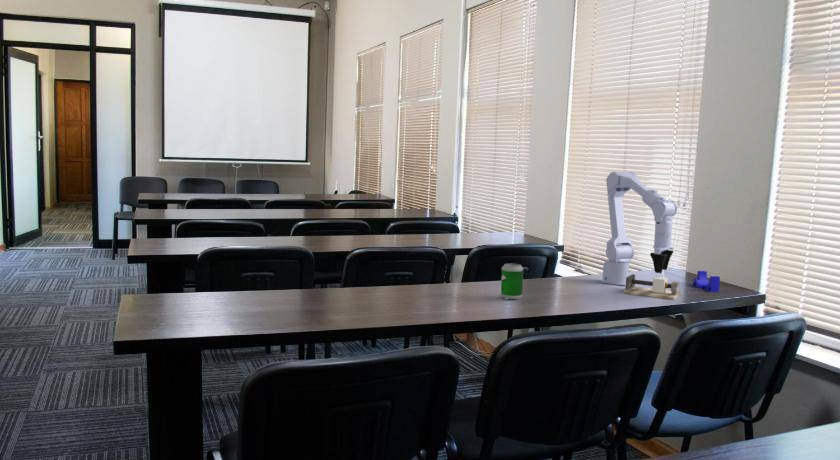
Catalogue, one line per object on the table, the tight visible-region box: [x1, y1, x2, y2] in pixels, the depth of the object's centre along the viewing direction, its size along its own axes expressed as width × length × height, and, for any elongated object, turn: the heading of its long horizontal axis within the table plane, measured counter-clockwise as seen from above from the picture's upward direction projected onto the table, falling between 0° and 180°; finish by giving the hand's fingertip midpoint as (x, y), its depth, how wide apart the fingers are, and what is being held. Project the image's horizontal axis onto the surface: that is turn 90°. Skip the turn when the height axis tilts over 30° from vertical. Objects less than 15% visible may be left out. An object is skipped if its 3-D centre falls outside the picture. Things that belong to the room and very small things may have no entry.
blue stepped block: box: [692, 270, 721, 293], centre depth 251 cm, size 12×4×6 cm, turn 2°
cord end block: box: [651, 276, 669, 293], centre depth 239 cm, size 4×5×5 cm
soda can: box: [500, 263, 524, 300], centre depth 231 cm, size 8×8×12 cm
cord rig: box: [623, 273, 681, 301], centre depth 240 cm, size 18×10×6 cm, turn 56°
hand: (660, 271), depth 238 cm, fingers open, 7 cm apart
